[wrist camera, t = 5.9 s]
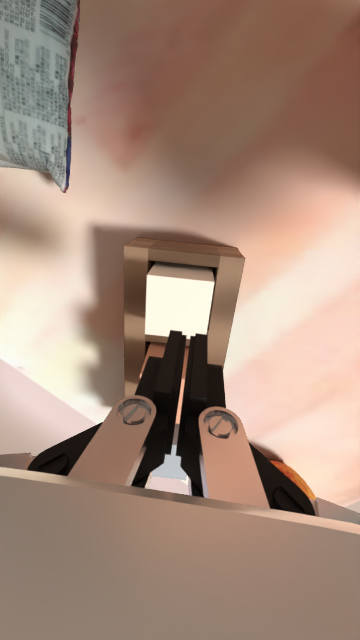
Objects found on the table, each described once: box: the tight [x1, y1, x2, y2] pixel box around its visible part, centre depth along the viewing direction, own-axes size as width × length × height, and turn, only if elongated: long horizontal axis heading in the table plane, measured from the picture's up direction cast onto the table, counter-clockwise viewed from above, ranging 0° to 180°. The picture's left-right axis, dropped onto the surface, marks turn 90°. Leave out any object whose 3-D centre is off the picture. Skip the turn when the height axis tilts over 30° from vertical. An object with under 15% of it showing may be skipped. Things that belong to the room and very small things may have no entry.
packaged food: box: [0, 0, 80, 193], centre depth 16 cm, size 9×12×5 cm
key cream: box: [145, 261, 214, 339], centre depth 20 cm, size 4×4×5 cm
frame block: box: [124, 238, 245, 397], centre depth 25 cm, size 21×9×4 cm, turn 175°
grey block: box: [152, 423, 187, 480], centre depth 25 cm, size 4×4×5 cm
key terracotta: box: [140, 342, 189, 424], centre depth 22 cm, size 4×4×5 cm
